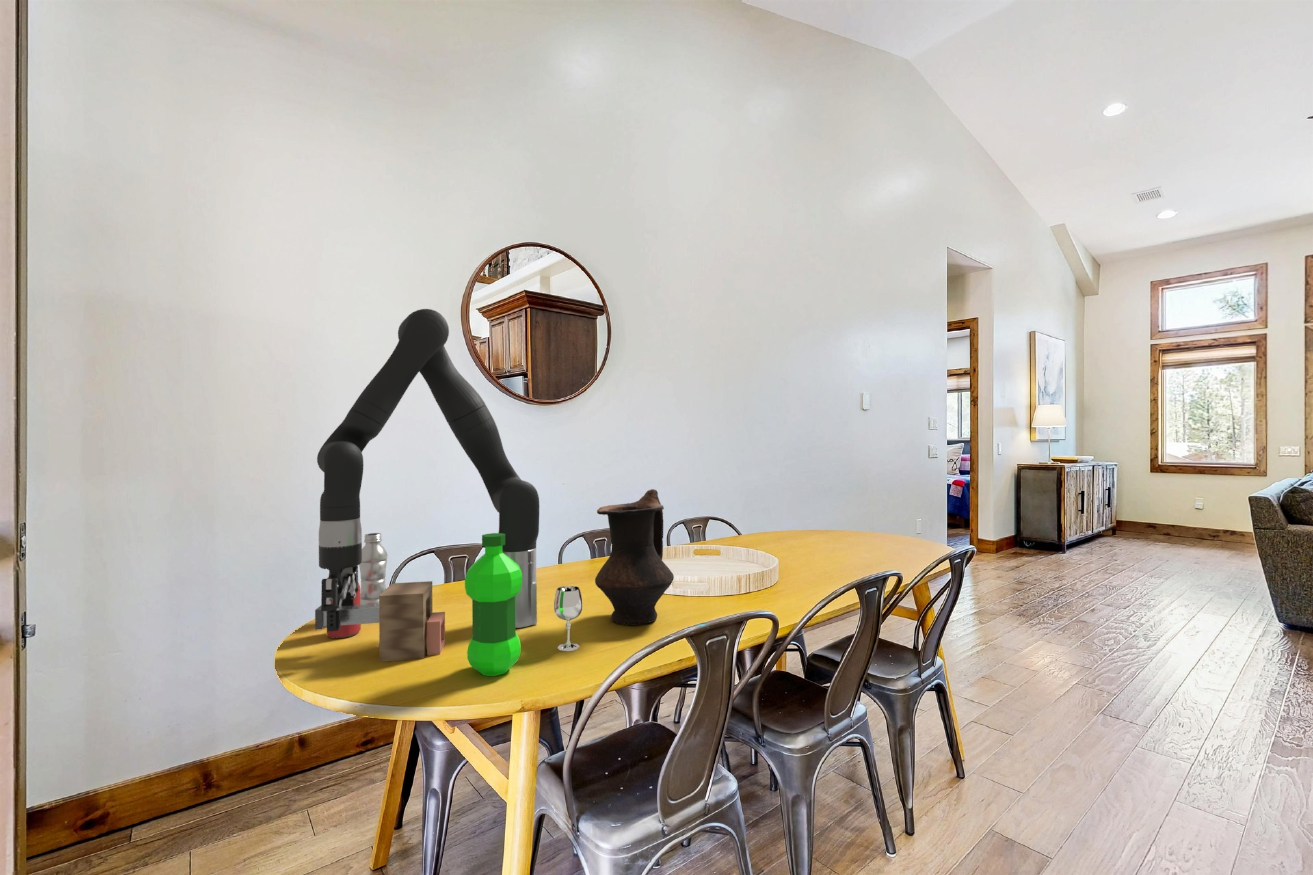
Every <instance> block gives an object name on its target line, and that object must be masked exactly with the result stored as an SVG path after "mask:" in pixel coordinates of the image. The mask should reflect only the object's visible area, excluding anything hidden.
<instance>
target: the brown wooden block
mask: <svg viewBox="0 0 1313 875" xmlns="http://www.w3.org/2000/svg"><path fill="white" fill-rule="evenodd" d="M432 613H433V581H432V580H430V581H429V580H428V581H411V582H396V583H395V582H393V583H390V584H389V585H388V587H387V588H386V590H385V591H384V592H383V593H382V594H381V595H380V596H379V623H378V625H379V630H378V632H379V635H378V636H379V637H378V638H379V646H378V647H379V648H378V649H379V663H382V662H383V663H384V662H397V661H409V660H410V661H411V660H422V659H425V657H426V655H427V621H428V620H429V618H430V617H431V615H432Z"/></svg>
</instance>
